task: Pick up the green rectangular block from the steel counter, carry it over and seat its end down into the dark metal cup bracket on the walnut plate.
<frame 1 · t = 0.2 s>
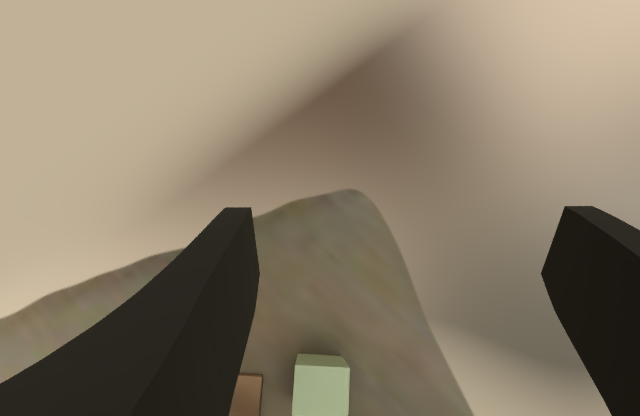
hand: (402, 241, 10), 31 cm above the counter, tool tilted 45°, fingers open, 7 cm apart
green rectangular block: (318, 378, 39), on the counter
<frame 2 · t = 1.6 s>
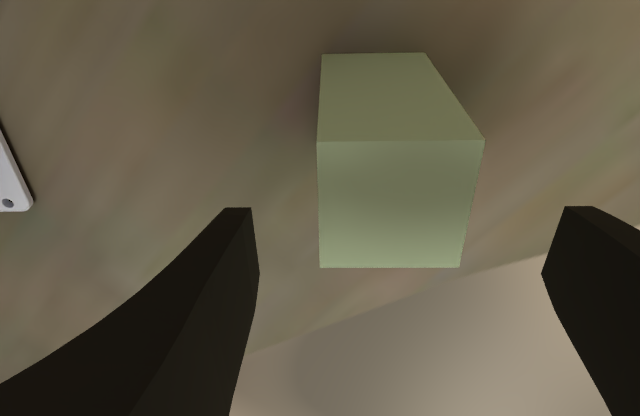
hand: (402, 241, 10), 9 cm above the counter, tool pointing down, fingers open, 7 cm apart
green rectangular block: (370, 102, 18), on the counter
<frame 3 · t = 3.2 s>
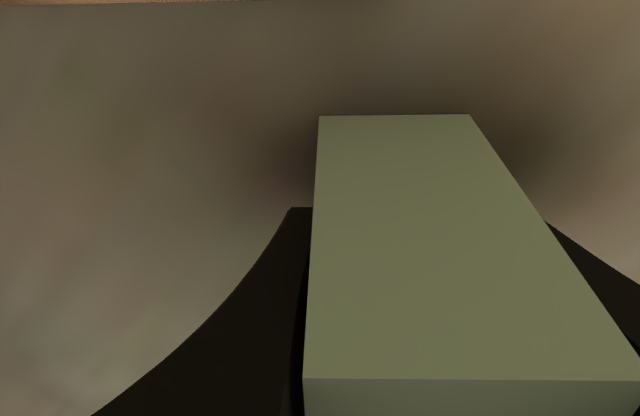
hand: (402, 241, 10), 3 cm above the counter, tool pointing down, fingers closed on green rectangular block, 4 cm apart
green rectangular block: (388, 179, 13), on the counter, touching gripper
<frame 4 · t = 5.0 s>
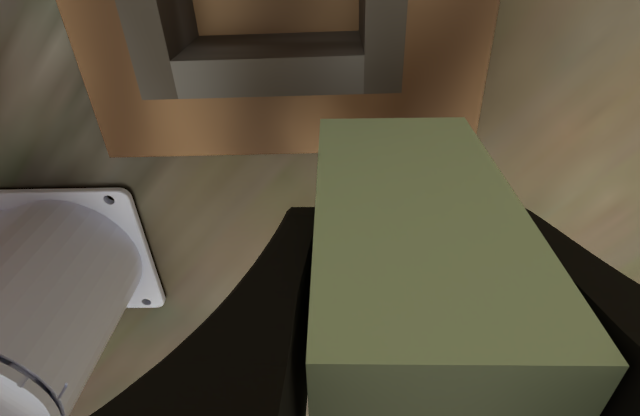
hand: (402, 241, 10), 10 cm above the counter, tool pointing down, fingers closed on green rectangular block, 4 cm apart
green rectangular block: (387, 180, 13), point 7 cm above the counter, touching gripper
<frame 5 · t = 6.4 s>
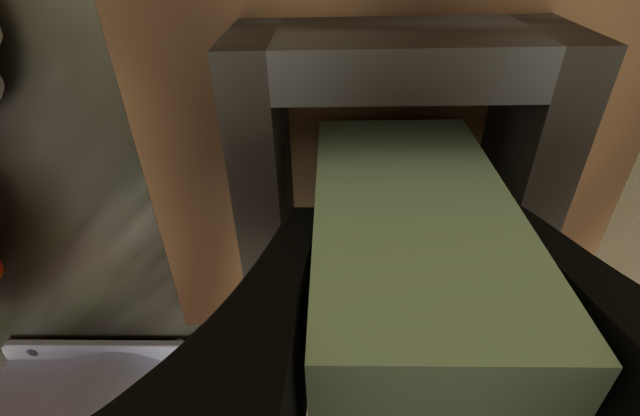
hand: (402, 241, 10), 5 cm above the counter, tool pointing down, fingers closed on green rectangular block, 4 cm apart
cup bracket: (381, 143, 15), on the counter
green rectangular block: (386, 181, 13), point 2 cm above the counter, touching gripper
when the fingers open (5 cm above the counter, at t = 7.1 s): green rectangular block stays where it is, resting on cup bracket.
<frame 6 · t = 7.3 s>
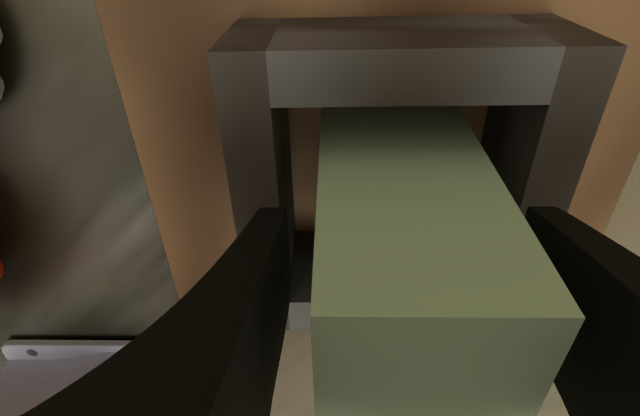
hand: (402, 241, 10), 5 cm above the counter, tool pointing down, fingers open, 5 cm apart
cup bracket: (380, 143, 15), on the counter
green rectangular block: (384, 164, 14), point 1 cm above the counter, touching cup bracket
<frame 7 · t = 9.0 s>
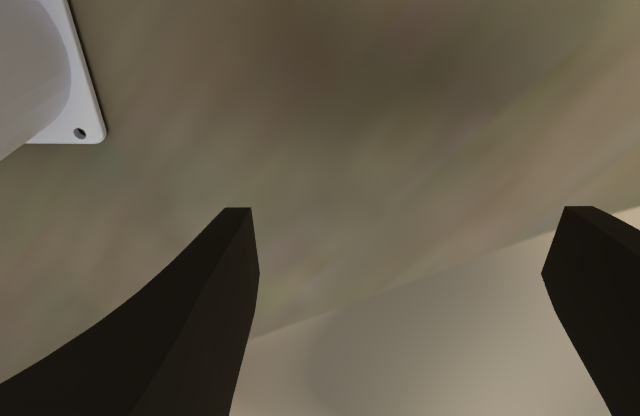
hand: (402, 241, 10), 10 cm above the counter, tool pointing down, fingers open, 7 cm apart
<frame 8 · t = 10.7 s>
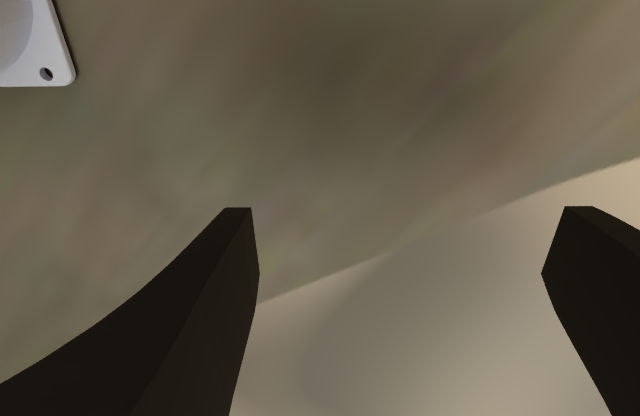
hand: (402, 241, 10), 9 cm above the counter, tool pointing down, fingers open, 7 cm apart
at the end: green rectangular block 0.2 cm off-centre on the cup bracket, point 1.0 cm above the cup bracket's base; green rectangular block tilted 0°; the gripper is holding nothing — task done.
